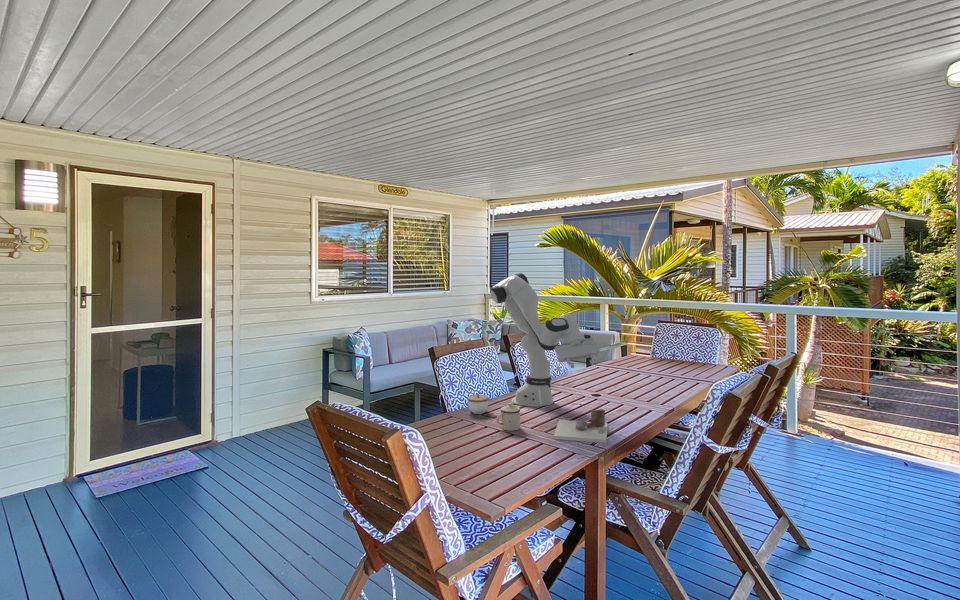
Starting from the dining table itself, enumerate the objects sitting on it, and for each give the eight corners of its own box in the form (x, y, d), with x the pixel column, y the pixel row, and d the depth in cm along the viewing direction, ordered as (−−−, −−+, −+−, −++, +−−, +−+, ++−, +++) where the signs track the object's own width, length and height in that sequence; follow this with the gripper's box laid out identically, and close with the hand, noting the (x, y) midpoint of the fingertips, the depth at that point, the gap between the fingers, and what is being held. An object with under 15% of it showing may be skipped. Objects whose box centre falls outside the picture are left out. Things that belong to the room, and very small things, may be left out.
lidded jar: (480, 407, 265) (480, 390, 264) (493, 412, 256) (492, 394, 255) (463, 411, 258) (463, 393, 257) (476, 416, 250) (475, 398, 249)
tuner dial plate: (553, 439, 217) (553, 435, 217) (559, 422, 238) (559, 419, 238) (606, 443, 211) (606, 439, 211) (607, 426, 232) (607, 422, 232)
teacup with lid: (513, 423, 239) (513, 399, 238) (524, 428, 231) (524, 403, 230) (491, 428, 233) (491, 403, 232) (502, 433, 225) (502, 408, 224)
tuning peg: (579, 430, 221) (579, 414, 221) (573, 427, 226) (573, 411, 226) (606, 426, 226) (606, 411, 226) (600, 423, 231) (600, 408, 230)
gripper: (553, 341, 241) (560, 365, 231) (595, 334, 241) (604, 357, 232) (553, 349, 245) (560, 372, 236) (594, 342, 246) (603, 365, 237)
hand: (582, 365), depth 234 cm, fingers open, 8 cm apart
